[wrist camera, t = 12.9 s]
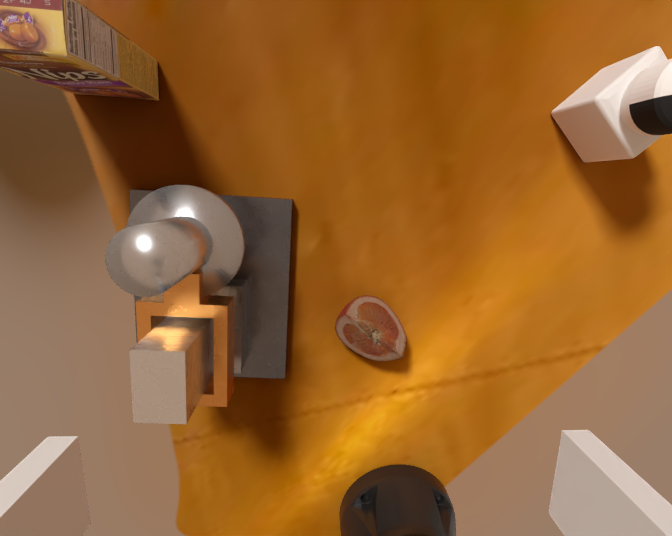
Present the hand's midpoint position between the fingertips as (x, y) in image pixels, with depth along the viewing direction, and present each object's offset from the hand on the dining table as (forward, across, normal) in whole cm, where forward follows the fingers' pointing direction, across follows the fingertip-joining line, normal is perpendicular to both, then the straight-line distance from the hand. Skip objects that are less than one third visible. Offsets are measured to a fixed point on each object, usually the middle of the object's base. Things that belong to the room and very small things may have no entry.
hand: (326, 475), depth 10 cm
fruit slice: (+34, -6, +8) cm, 36 cm away
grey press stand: (+34, +12, +3) cm, 36 cm away
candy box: (+34, +21, -18) cm, 44 cm away
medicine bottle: (+34, -30, -16) cm, 48 cm away
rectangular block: (+32, +12, +7) cm, 35 cm away
